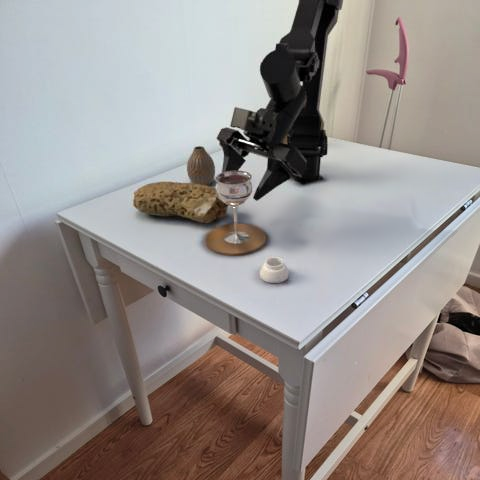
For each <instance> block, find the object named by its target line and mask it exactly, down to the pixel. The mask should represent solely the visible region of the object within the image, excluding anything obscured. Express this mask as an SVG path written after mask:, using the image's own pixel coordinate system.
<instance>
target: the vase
mask: <svg viewBox="0 0 480 480" xmlns="http://www.w3.org/2000/svg"><path fill="white" fill-rule="evenodd" d="M186 172H187V177H188V179H189V181H190V182H191V184H200V185H206V186H210V185H211V183H212V182H213V181H214V180H215V177H216V165H215V162H214V160H213V157H212V156H211V155H210V154H209V153H208V152H207V150H206V149H205V147H204V146H202V145H199V146H198V145H197V146H195V147H194V148H193V150H192V153H191V154H190V156H189V158H188V160H187V164H186Z"/></svg>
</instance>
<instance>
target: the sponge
mask: <svg viewBox="0 0 480 480" xmlns="http://www.w3.org/2000/svg"><path fill="white" fill-rule="evenodd" d="M215 189H216V187H212V186H210V185H207V186H206V185H200V184H193V183H192V182H191V183H190V182H177V181H175V182H173V181H157V182H151V183H150V182H149V183H147V184H145V185H143V186H141V187H139V188H138V189H137V190H135V191H133V195H134V196H133V198H132V206H133V207H134V208H135V209H136V210H138V211H139V213H144V214H146V215H151V216H157V217H173V216H178V217H182V218H187V219H190V220H193V221H195V222H198V223H202V224H209V223H212V222H213V221H215V220H216V219H221V218H223V217H225V215H226V214H227V212H228V209H229V206H230V205H226V204H224V203H223V202H222V201H221V200H220V199H219V198H218V196H217V194H216V190H215Z"/></svg>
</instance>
